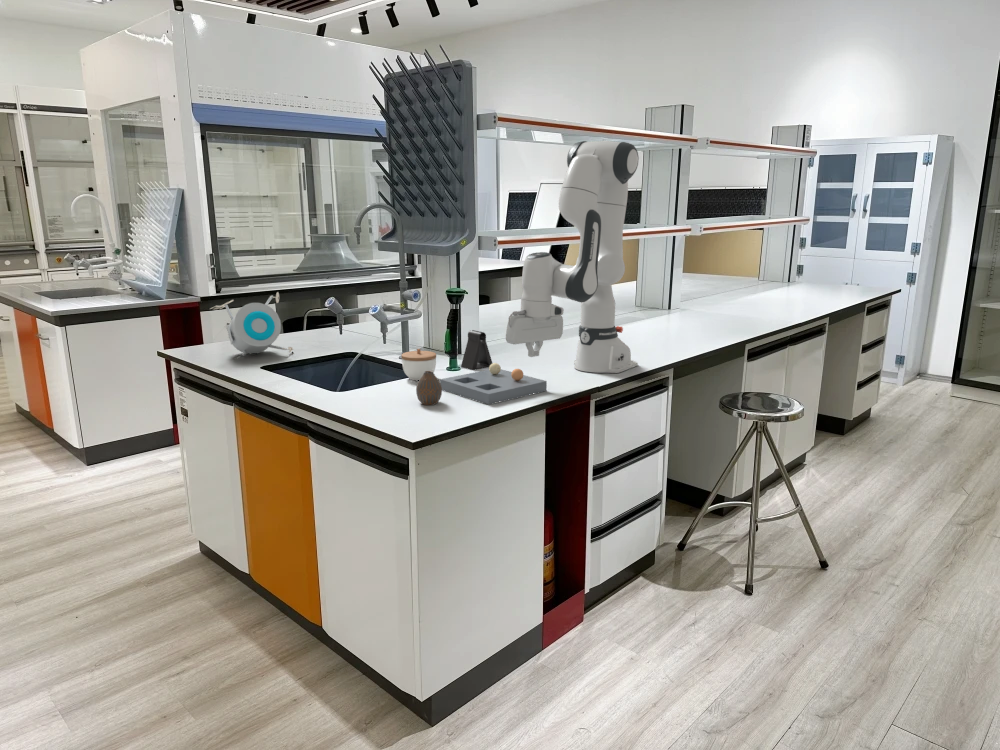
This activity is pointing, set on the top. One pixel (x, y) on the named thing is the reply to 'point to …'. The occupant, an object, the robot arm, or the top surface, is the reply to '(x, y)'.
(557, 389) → the top surface
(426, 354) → the lidded jar
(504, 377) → the hole plate
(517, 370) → the terracotta ball
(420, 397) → the vase
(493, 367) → the sand ball
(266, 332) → the satellite
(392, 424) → the top surface
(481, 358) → the door stopper
